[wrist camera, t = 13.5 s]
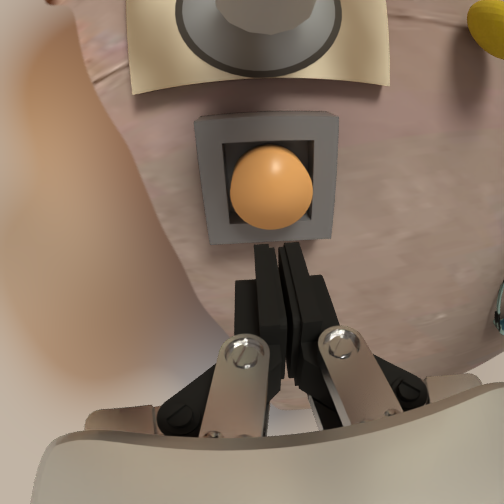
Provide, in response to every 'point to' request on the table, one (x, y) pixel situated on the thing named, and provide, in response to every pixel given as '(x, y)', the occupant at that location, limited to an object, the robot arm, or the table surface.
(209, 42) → the picture board
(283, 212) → the button
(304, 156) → the button housing
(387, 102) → the table surface
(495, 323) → the sunglasses
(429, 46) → the table surface
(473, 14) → the lemon
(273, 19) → the salt shaker
